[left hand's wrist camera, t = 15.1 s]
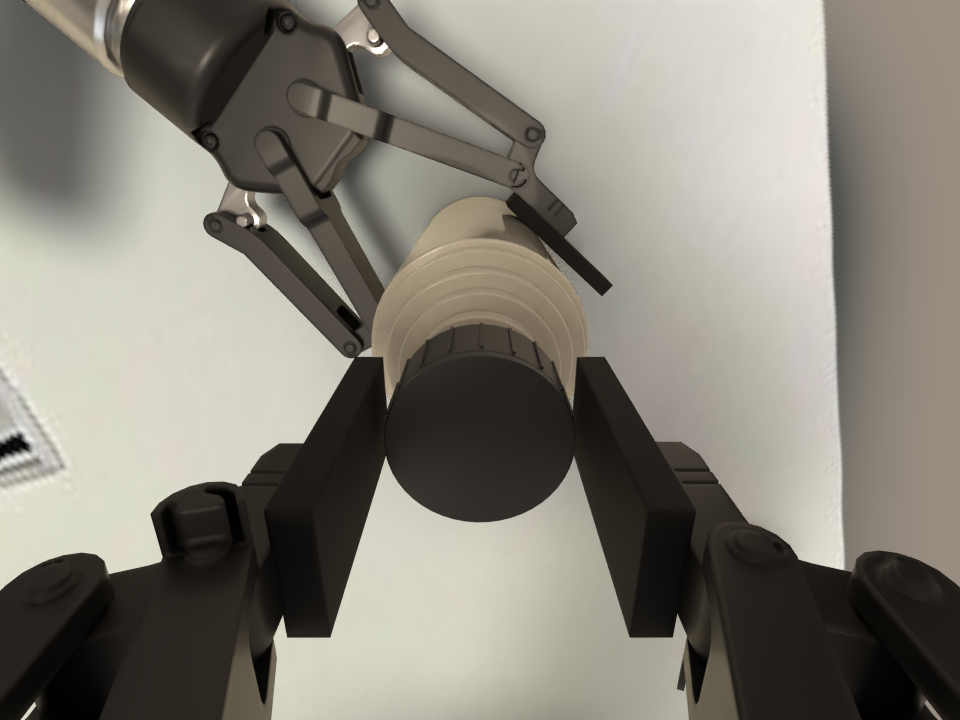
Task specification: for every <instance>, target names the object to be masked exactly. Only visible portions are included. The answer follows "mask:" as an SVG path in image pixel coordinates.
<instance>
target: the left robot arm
mask: <svg viewBox="0 0 960 720" xmlns="http://www.w3.org/2000/svg"><path fill="white" fill-rule="evenodd" d="M386 412H387V402H386V389H385V375H384V362H383V357H355V358H354V360H353V362H352V363H351V365H350V367H349V369H348V370H347V372H346V374H345V375H344V377H343V379H342V380H341V382H340V384H339V385H338V387H337V389H336V390H335V392H334V394H333V395H332V397H331V399H330V400H329V402H328V404H327V405H326V407H325V409H324V410H323V412H322V414H321V415H320V417H319V419H318V420H317V422H316V424H315V425H314V427H313V429H312V430H311V432H310V434H309V435H308V437H307V439H306V440H305V442H304V443H279V444H278V445H276V446H275V447H274V448H272V449H271V450H269V451H268V452H266V453H265V454H263V455H262V456H261V457H260V458H259V460H258V461H257V463H256V464H255V465H254V467H253V468H252V470H251V473H250V474H248V475H247V477H246V478H245V479H244V481H243V482H242V486H239V487H238V486H237V485H236V484H232V483H227V482H206V483H202V484H198V485H193V486H189V487H187V488H185V489H182V490H180V491H178V492H176V493H173V494H172V495H170V496H169V497H167V498H166V499H164V500H163V501H162V502H160V503H159V504H158V505H157V506H156V508H155V509H154V510H153V511H152V513H151V518H152V521H153V525H154V528H155V532H156V535H157V539H158V542H159V546H160V549H161V553H162V556H163V558H162V561H161V562H159V563H156V564H152V565H149V566H144V567H140V568H135V569H131V570H126V571H122V572H117V573H113V574H108V571H107V568H106V565H105V562H104V560H102V559H101V558H100V557H98V556H97V555H95V554H88V553H76V554H69V555H63V556H60V557H56V558H54V559H50V560H47V561H45V562H42V563H40V564H38V565H36V566H35V567H33V568H31V569H29V570H27V571H25V572H23V573H22V574H20V575H19V576H18V577H16V578H15V579H14V580H12V581H11V582H10V583H9V584H7V585H6V586H5V587H4V588H3V589H2V590H1V591H0V720H21V718H22V717H23V716H24V715H25V713H26V712H27V711H28V709H29V708H30V707H31V706H32V704H33V703H34V702H35V704H36V707H35V708H34V709H33V711H32V712H31V713H30V715H29V716H28V717H27V718H26V719H25V720H271V715H272V704H273V693H274V682H275V672H276V661H277V657H276V650H275V645H274V640H273V637H274V635H275V632H276V630H277V628H278V625H279V623H280V621H281V618H282V616H283V617H284V623H285V628H286V633H287V638H330V636H331V633H332V630H333V627H334V623H335V620H336V617H337V614H338V610H339V607H340V604H341V601H342V597H343V594H344V591H345V588H346V584H347V581H348V578H349V574H350V571H351V568H352V565H353V561H354V558H355V555H356V552H357V548H358V545H359V542H360V539H361V535H362V532H363V529H364V525H365V522H366V519H367V516H368V512H369V509H370V506H371V503H372V499H373V496H374V493H375V490H376V486H377V483H378V480H379V477H380V473H381V470H382V467H383V463H384V460H385V457H386V453H385V446H384V429H385V424H386V419H387V415H386ZM573 413H574V417H573V421H574V425H575V433H576V444H575V451H574V457H575V460H576V463H577V467H578V470H579V473H580V477H581V480H582V483H583V486H584V490H585V493H586V496H587V499H588V503H589V506H590V509H591V512H592V516H593V519H594V522H595V525H596V529H597V532H598V535H599V539H600V542H601V545H602V548H603V552H604V555H605V558H606V561H607V565H608V568H609V571H610V574H611V578H612V581H613V584H614V587H615V591H616V594H617V597H618V601H619V604H620V607H621V610H622V614H623V617H624V620H625V623H626V627H627V630H628V633H629V636H630V638H673V633H674V628H675V623H676V617H677V613H678V616H679V618H680V620H681V623H682V625H683V627H684V630H685V632H686V634H687V640H686V645H685V649H684V654H683V659H682V664H681V669H680V674H679V680H678V686H677V689H678V690H682V691H684V688H685V683H686V692H687V702H688V713H689V720H938V719H936V717H935V716H934V715H933V714H932V713H931V712H930V710H929V709H928V708H927V706H926V705H925V702H926V700H928V702H929V703H930V704H931V705H932V707H933V708H934V709H935V711H936V712H937V713H938V714H939V716H940V717H941V718H942V720H960V587H959V586H958V585H957V584H955V583H954V582H953V581H952V580H950V579H949V578H948V577H946V576H945V575H944V574H942V573H941V572H940V571H938V570H937V569H935V568H933V567H931V566H929V565H927V564H925V563H923V562H921V561H919V560H917V559H914V558H912V557H907V556H905V555H902V554H899V553H893V552H886V551H872V552H865V553H863V554H862V555H861V556H860V557H858V558H857V559H856V562H855V565H854V568H853V571H852V572H848V571H844V570H839V569H835V568H830V567H826V566H821V565H817V564H812V563H809V562H805V561H802V560H798V557H797V555H796V554H795V552H794V551H793V550H792V548H791V547H790V545H789V544H787V543H786V542H785V541H784V540H782V539H781V538H780V537H779V536H777V535H776V534H774V533H772V532H770V531H768V530H766V529H764V528H762V527H759V526H755V525H751V524H749V523H748V522H747V520H746V519H745V518H744V516H743V515H742V513H741V512H740V511H739V509H738V508H737V506H736V505H735V504H734V502H733V501H732V499H731V498H730V497H729V495H728V494H727V493H726V491H725V490H724V488H723V487H722V486H721V484H718V480H717V479H716V477H715V476H714V474H713V473H712V472H710V469H709V467H708V466H707V465H706V463H705V462H704V460H703V459H702V458H701V456H700V455H699V454H698V453H696V452H695V451H693V450H692V449H691V448H689V447H688V446H686V445H685V444H683V443H682V442H655V440H654V439H653V437H652V435H651V434H650V432H649V430H648V429H647V427H646V425H645V424H644V422H643V420H642V419H641V417H640V415H639V414H638V412H637V410H636V409H635V407H634V405H633V404H632V402H631V400H630V399H629V397H628V395H627V394H626V392H625V390H624V389H623V387H622V385H621V384H620V382H619V380H618V379H617V377H616V375H615V374H614V372H613V370H612V369H611V367H610V365H609V363H608V362H607V360H606V358H605V357H577V362H576V375H575V389H574V402H573Z"/></svg>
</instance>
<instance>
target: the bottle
mask: <svg viewBox="0 0 960 720" xmlns="http://www.w3.org/2000/svg"><path fill="white" fill-rule="evenodd" d="M480 323H483V324H488V325H496V326H500V327H504V328H509V327H510V328H512V330H513V331H516V332H518V333H520V334H522V335H524V336H526V337H527V338H528V339H530V340H531V341H533V342H534V341H536V342H537V345H538V346H539V347H540V348H541V349H542V350H543V351H544V352H545V354H546V355H547V356H548V357H549V359H550V360H551V361H554V363H555V365H556V368H557V371H558V374H559V377H560V380H561V382H562V385H564V388H565V391H566V394H567V396H568V399H569V400H570V398H571V396H572V395H573V393H574V389H575V375H576V362H577V357H587V351H588V329H587V321H586V317H585V314H584V310H583V307H582V305H581V302H580V300H579V298H578V295H577V294H576V292H575V290H574V289H573V287H572V286H571V284H570V282H569V281H568V279H567V278H566V276H565V275H564V273H563V272H562V270H561V269H560V267H559V266H558V264H557V263H556V261H555V260H554V258H553V257H552V255H551V254H550V252H549V251H548V249H547V248H546V246H545V245H544V243H543V242H542V240H541V239H540V237H538V236H537V235H536V234H535V233H534V232H533V231H532V230H531V229H530V228H529V227H528V226H527V225H526V224H525V223H524V222H523V221H521V220H520V219H519V218H518V217H517V216H516V215H515V214H514V213H513V212H512V211H511V210H510V209H509V208H508V207H507V205H506V203H505V202H504V201H501V200H498V199H495V198H490V197H470V198H465V199H461V200H459V201H456V202H454V203H452V204H450V205H448V206H447V207H445V208H444V209H443V210H441V211H440V212H439V213H438V214H437V215H436V216H435V217H434V218H433V220H432V221H431V222H430V224H429V225H428V227H427V228H426V230H425V231H424V233H423V234H422V236H421V237H420V239H419V240H418V242H417V243H416V245H415V246H414V248H413V249H412V251H411V252H410V254H409V255H408V257H407V258H406V260H405V261H404V263H403V264H402V266H401V267H400V269H399V270H398V271H397V273H396V274H395V276H394V277H393V279H392V280H391V282H390V283H389V285H388V287H387V288H386V290H385V292H384V293H383V295H382V297H381V299H380V302H379V304H378V306H377V309H376V313H375V316H374V320H373V327H372V353H373V357H383V362H384V375H385V389H386V393H387V395H388V397H389V398H390V400H391V398H392V395H393V392H394V389H395V386H396V384H397V382H399V381H400V378H401V375H402V372H403V369H404V366H405V363H406V361H407V359H410V358H411V357H412V356H413V354H414V353H415V352H416V351H417V350H418V349H419V348H420V347H421V346H422V345H423V344H424V343H425V340H427V339H428V340H430V339H431V338H433V337H435V336H436V335H438V334H440V333H442V332H444V331H446V330H449V329H451V327H454V328H456V327H459V326H465V325H471V324H480Z"/></svg>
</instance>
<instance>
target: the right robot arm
mask: <svg viewBox="0 0 960 720" xmlns="http://www.w3.org/2000/svg"><path fill="white" fill-rule="evenodd" d="M23 1H24V2H26V3H27V4H28V5H30V6H31V7H32V8H33V9H34V10H36V11H37V12H38V13H39V14H41V15H42V16H43V17H44V18H45V19H47V20H48V21H49V22H50V23H51V24H53V25H54V26H55V27H56V28H57V29H59V30H60V31H61V32H62V33H63V34H65V35H66V36H67V37H68V38H69V39H71V40H72V41H73V42H74V43H76V44H77V45H78V46H79V47H80V48H82V49H83V50H84V51H85V52H86V53H88V54H89V55H90V56H91V57H92V58H94V59H95V60H96V61H97V62H98V63H100V64H101V65H102V66H103V67H104V68H106V69H107V70H108V71H109V72H110V73H112V74H114V75H117V76H119V77H122V78H125V80H126V82H127V84H128V86H129V87H130V88H131V89H132V90H133V91H134V92H135V93H136V94H138V95H139V96H140V97H141V98H142V99H144V100H145V101H146V102H147V103H149V104H150V105H151V106H152V107H153V108H155V109H156V110H157V111H158V112H160V113H161V114H162V115H163V116H164V117H166V118H167V119H168V120H169V121H171V122H172V123H173V124H174V125H175V126H177V127H178V128H179V129H180V130H181V131H183V132H184V133H185V134H186V135H188V136H189V137H190V138H191V139H192V140H194V141H195V142H196V143H198V144H199V145H200V146H202V147H203V148H204V149H206V150H207V151H208V152H209V153H210V154H211V155H212V156H213V157H214V158H215V159H216V161H217V162H218V164H219V165H220V167H221V169H222V171H223V173H224V175H225V177H226V178H227V180H228V181H229V183H228V185H227V188H226V190H225V193H224V195H223V198H222V200H221V203H220V206H219V208H218V210H217V212H213V213H210V214H208V215H206V217H205V218H204V222H203V225H204V229H205V230H206V232H207V233H208V234H209V235H210V236H212V237H214V238H215V239H217V240H219V241H221V242H223V243H225V244H226V245H228V246H230V247H232V248H234V249H236V250H237V251H239V252H241V253H243V254H244V255H245V256H246V257H247V258H248V259H249V260H250V261H251V262H252V263H253V264H254V265H255V266H256V267H257V268H258V269H259V270H260V271H261V272H262V273H263V274H264V275H265V276H266V277H267V278H268V279H269V280H270V281H271V282H272V283H273V284H274V285H275V286H276V287H277V288H278V289H279V290H280V291H281V292H282V293H283V294H284V295H285V296H286V297H287V299H288V300H289V301H290V302H291V303H292V304H293V305H294V306H295V307H296V308H297V309H298V310H299V311H300V312H301V313H302V314H303V315H304V316H305V317H306V318H307V319H308V320H309V321H310V322H311V323H312V324H313V325H314V326H315V327H316V328H317V329H318V330H319V331H320V332H321V333H322V334H323V335H324V336H325V337H326V338H327V339H328V340H329V341H330V342H331V343H332V344H333V345H334V346H335V348H336V349H337V350H338V351H339V352H340V353H341V354H342V355H344V356H345V357H348V358H355V357H357V356H359V354H360V353H361V352H363V351H365V350H366V349H368V348H370V347H372V327H373V320H374V316H375V313H376V309H377V306H378V304H379V302H380V299H381V297H382V295H383V293H384V292H385V289H384V288H383V286H382V284H381V282H380V280H379V279H378V277H377V275H376V273H375V271H374V270H373V268H372V266H371V264H370V262H369V261H368V259H367V257H366V255H365V253H364V252H363V250H362V248H361V246H360V244H359V243H358V241H357V239H356V237H355V235H354V234H353V232H352V230H351V228H350V226H349V225H348V223H347V221H346V219H345V217H344V216H343V214H342V212H341V207H340V204H339V202H338V200H337V198H336V196H335V194H334V192H333V191H332V189H334V188H335V186H336V185H337V184H338V182H339V181H340V180H341V178H342V176H343V174H344V171H345V168H346V166H347V163H348V162H349V161H350V160H352V159H353V158H354V157H356V156H357V155H358V154H360V153H361V152H362V150H363V149H364V148H365V146H366V145H367V144H368V142H369V141H370V140H369V139H368V137H370V138H373V139H375V140H378V141H382V142H385V143H388V144H391V145H393V146H396V147H399V148H402V149H404V150H407V151H410V152H413V153H415V154H418V155H421V156H424V157H426V158H429V159H432V160H435V161H437V162H440V163H443V164H446V165H448V166H451V167H454V168H457V169H459V170H462V171H465V172H468V173H470V174H473V175H476V176H479V177H481V178H484V179H487V180H490V181H492V182H495V183H498V184H501V185H503V186H506V187H509V188H510V189H511V190H512V191H514V193H513V194H512V195H511V196H510V197H509V198H508V200H507V201H506V202H505V203H506V205H507V207H508V208H509V209H510V210H511V211H512V212H513V213H514V214H515V215H516V216H517V217H518V218H519V219H520V220H521V221H523V222H524V223H525V224H526V225H527V226H528V227H529V228H530V229H531V230H532V231H533V232H534V233H535V234H536V235H537V236H538V237H540V238H541V239H542V240H543V241H544V242H545V243H546V244H547V245H548V246H549V247H550V248H551V249H552V250H553V251H554V252H555V253H557V254H558V255H559V256H560V257H561V258H562V259H563V260H564V261H565V262H566V263H567V264H568V265H569V266H570V267H571V268H572V269H574V270H575V271H576V272H577V273H578V274H579V275H580V276H581V277H582V278H583V279H584V280H585V281H586V282H587V283H588V284H589V285H591V286H592V287H593V288H594V289H595V290H596V291H597V292H598V293H599V294H600V295H601V296H603V295H604V294H605V293H606V292H607V291H608V290H609V289H610V288H611V287H612V286H613V285H612V284H611V283H610V282H609V281H608V280H607V279H606V278H605V277H604V276H603V275H602V274H601V273H600V272H599V271H598V270H597V269H596V268H595V267H594V266H593V265H592V264H591V263H590V262H589V261H588V260H587V259H586V258H585V257H584V256H582V255H581V254H580V253H579V252H578V251H577V250H576V249H575V248H574V247H573V246H572V245H571V244H570V243H569V242H568V241H567V240H566V239H565V238H564V237H565V236H566V235H567V233H568V232H569V231H570V230H571V229H572V228H573V227H574V226H575V225H576V224H577V222H576V219H575V217H574V214H573V213H572V212H571V211H570V210H569V209H568V208H567V207H566V206H565V205H564V204H563V203H562V202H561V201H560V200H559V199H558V198H557V197H556V196H555V195H554V194H553V193H552V192H551V191H550V190H549V189H548V188H547V187H546V186H545V185H544V184H543V183H542V182H541V181H540V180H539V179H538V178H537V177H536V175H535V172H534V162H535V159H536V157H537V154H538V152H539V149H540V147H541V144H542V143H543V142H544V139H545V133H546V131H545V129H544V126H543V125H542V124H541V123H540V122H539V121H537V120H536V119H535V118H533V117H532V116H531V115H529V114H528V113H526V112H525V111H524V110H522V109H521V108H519V107H518V106H517V105H515V104H514V103H513V102H511V101H510V100H508V99H507V98H506V97H504V96H503V95H502V94H500V93H499V92H497V91H496V90H495V89H493V88H492V87H490V86H489V85H488V84H486V83H485V82H484V81H482V80H481V79H479V78H478V77H477V76H475V75H474V74H473V73H471V72H470V71H468V70H467V69H466V68H464V67H463V66H461V65H460V64H459V63H457V62H456V61H455V60H453V59H452V58H450V57H449V56H448V55H446V54H445V53H444V52H442V51H441V50H439V49H438V48H437V47H435V46H434V45H432V44H431V43H430V42H428V41H427V40H426V39H424V38H423V37H421V36H420V35H419V34H417V33H416V32H415V31H413V30H412V29H410V28H409V27H408V26H407V24H406V23H405V22H404V20H403V19H402V17H401V16H400V14H399V13H398V12H397V10H396V9H395V7H394V6H393V4H392V3H391V2H390V0H357V1H358V5H357V6H356V7H355V8H354V9H353V10H352V11H351V12H350V13H349V14H348V15H346V16H345V17H344V18H343V19H342V20H341V21H340V22H339V23H338V24H337V25H336V26H335V27H334V28H333V29H331V28H330V27H327V26H324V25H320V24H316V23H313V22H311V21H309V20H307V19H306V18H305V17H304V16H303V15H302V14H301V13H299V12H298V11H297V10H296V9H295V8H294V7H293V6H292V5H291V4H290V3H289V2H288V1H287V0H23ZM357 49H365V50H368V51H369V52H370V53H371V54H373V55H374V56H376V57H379V58H383V57H386V56H387V55H389V54H390V53H391V52H393V53H394V54H395V55H396V56H397V57H398V58H399V59H400V60H401V61H402V62H403V63H404V64H406V65H407V66H408V67H409V68H411V69H412V70H413V71H415V72H416V73H418V74H419V75H420V76H422V77H423V78H425V79H426V80H427V81H429V82H430V83H432V84H433V85H435V86H436V87H437V88H439V89H440V90H442V91H443V92H444V93H446V94H447V95H449V96H450V97H452V98H453V99H454V100H456V101H457V102H459V103H460V104H461V105H463V106H464V107H466V108H467V109H469V110H470V111H471V112H473V113H474V114H476V115H477V116H478V117H480V118H481V119H483V120H484V121H486V122H487V123H488V124H490V125H491V126H493V127H494V128H495V129H497V130H498V131H500V132H501V133H503V134H504V135H505V136H507V137H508V138H510V139H511V140H512V141H513V144H512V146H511V149H510V151H509V154H508V157H507V158H506V157H504V156H501V155H498V154H496V153H493V152H490V151H487V150H485V149H482V148H479V147H477V146H474V145H471V144H469V143H466V142H463V141H460V140H458V139H455V138H452V137H450V136H447V135H444V134H442V133H439V132H436V131H433V130H431V129H428V128H425V127H423V126H420V125H417V124H415V123H412V122H409V121H406V120H404V119H401V118H398V117H396V116H393V115H390V114H388V113H385V112H382V111H379V110H377V109H374V108H371V107H369V106H366V103H365V99H364V95H363V92H362V88H361V84H360V81H359V77H358V73H357V69H356V66H355V62H354V58H353V55H352V52H354V51H355V50H357ZM255 192H260V193H270V194H279V195H285V197H286V199H287V200H288V202H289V204H290V206H291V207H292V209H293V211H294V212H295V214H296V216H297V217H298V219H299V220H300V222H301V223H302V224H303V225H304V226H306V227H307V228H308V229H309V231H310V233H311V234H312V236H313V238H314V240H315V241H316V243H317V245H318V246H319V248H320V250H321V251H322V253H323V255H324V257H325V258H326V260H327V262H328V263H329V265H330V267H331V269H332V270H333V272H334V274H335V275H336V277H337V279H338V280H339V282H340V284H341V286H342V287H343V289H344V291H345V292H346V294H347V296H348V298H349V299H350V301H351V303H352V304H353V306H354V308H355V310H356V311H357V313H358V315H359V316H360V318H361V319H360V318H359V317H358V316H357V315H356V314H355V313H354V312H353V311H352V309H351V308H350V307H349V306H348V305H347V304H346V303H345V302H344V301H343V300H342V299H341V298H340V297H339V296H338V295H337V294H336V292H335V291H334V290H333V289H332V288H331V287H330V286H329V285H328V284H327V283H326V282H325V281H324V280H323V279H322V278H321V277H320V275H319V274H318V273H317V272H316V271H315V270H314V269H313V268H312V267H311V266H310V265H309V264H308V263H307V262H306V261H305V259H304V258H303V257H302V256H301V255H300V254H299V253H298V252H297V251H296V250H295V249H294V248H293V247H292V246H291V245H290V244H289V242H288V241H287V240H286V239H285V238H284V237H283V236H282V235H281V234H280V233H279V232H277V231H276V230H275V229H274V228H272V227H271V226H269V225H268V224H266V222H267V216H266V214H265V212H264V211H263V210H262V209H261V208H260V207H259V206H258V205H257V203H256V201H255Z"/></svg>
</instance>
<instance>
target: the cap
mask: <svg viewBox="0 0 960 720" xmlns="http://www.w3.org/2000/svg"><path fill="white" fill-rule="evenodd" d="M386 415H388V416H387V419H386V424H385V429H384V446H385V453H386V457H387V461H388V464H389V466H390V469H391V471H392V473H393V475H394V476H395V478H396V480H397V481H398V483H399V484H400V485H401V487H402V488H403V489H404V490H405V491H406V492H407V493H408V494H409V495H410V496H411V497H412V498H413V499H414V500H415V501H417V502H418V503H419V504H421V505H422V506H424V507H426V508H427V509H429V510H431V511H433V512H435V513H437V514H440V515H442V516H445V517H448V518H452V519H456V520H461V521H467V522H492V521H500V520H504V519H508V518H512V517H515V516H517V515H520V514H523V513H525V512H527V511H529V510H531V509H533V508H534V507H536V506H537V505H539V504H540V503H542V502H543V501H544V500H545V499H547V498H548V497H549V496H550V495H551V494H552V493H553V492H554V491H555V490H556V489H557V488H558V486H559V485H560V484H561V482H562V481H563V479H564V478H565V476H566V474H567V472H568V470H569V468H570V466H571V463H572V460H573V457H574V451H575V444H576V433H575V425H574V421H573V417H574V413H573V411H572V408H571V405H570V402H569V399H568V396H567V394H566V391H565V388H564V385H562V382H561V380H560V377H559V374H558V371H557V368H556V365H555V363H554V361H551V360H550V359H549V357H548V356H547V355H546V354H545V352H544V351H543V350H542V349H541V348H540V347H539V346H538V345H537V342H536V341H534V342H533V341H531V340H530V339H528V338H527V337H526V336H524V335H522V334H520V333H518V332H516V331H513V330H512V328H510V327H509V328H504V327H500V326H496V325H488V324H483V323H480V324H471V325H465V326H459V327H456V328H454V327H451V329H449V330H446V331H444V332H442V333H440V334H438V335H436V336H435V337H433V338H431V339H430V340H428V339H427V340H425V343H424V344H423V345H422V346H421V347H420V348H419V349H418V350H417V351H416V352H415V353H414V354H413V356H412V357H411V358H410V359H407V361H406V363H405V366H404V369H403V372H402V375H401V378H400V381H399V382H397V384H396V386H395V389H394V392H393V395H392V398H391V401H390V403H389V406H388V409H387V412H386Z"/></svg>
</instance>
